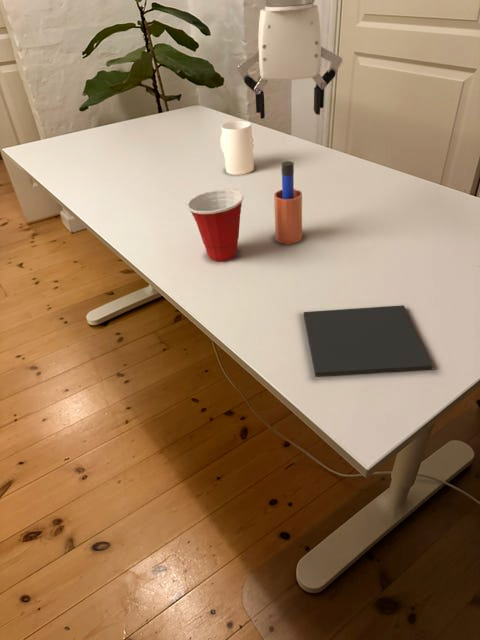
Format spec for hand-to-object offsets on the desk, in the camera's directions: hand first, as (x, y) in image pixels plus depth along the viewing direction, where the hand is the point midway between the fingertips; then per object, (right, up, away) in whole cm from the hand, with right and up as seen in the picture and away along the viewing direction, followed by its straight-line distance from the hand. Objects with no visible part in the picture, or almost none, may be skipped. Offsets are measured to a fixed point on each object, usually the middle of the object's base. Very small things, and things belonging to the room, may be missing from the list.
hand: (289, 114), depth 82 cm
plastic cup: (-13, -23, +11) cm, 29 cm away
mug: (-10, +7, +50) cm, 51 cm away
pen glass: (+1, -19, +15) cm, 24 cm away
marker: (+1, -19, +14) cm, 24 cm away
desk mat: (+10, -39, -13) cm, 42 cm away
